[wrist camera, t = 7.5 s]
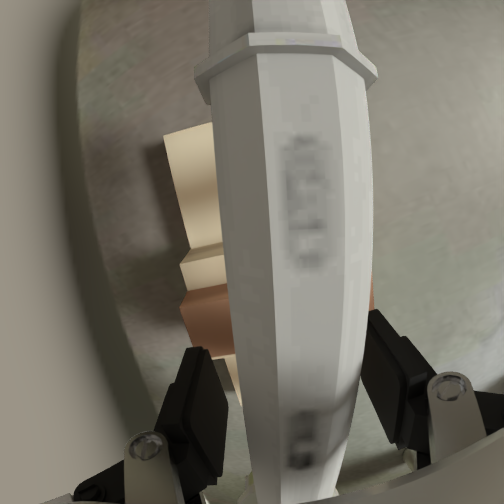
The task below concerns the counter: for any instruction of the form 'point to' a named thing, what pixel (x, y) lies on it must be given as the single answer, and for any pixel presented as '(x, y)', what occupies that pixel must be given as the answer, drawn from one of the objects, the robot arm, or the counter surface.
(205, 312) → the stepped podium stack
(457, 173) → the counter surface
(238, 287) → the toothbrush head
